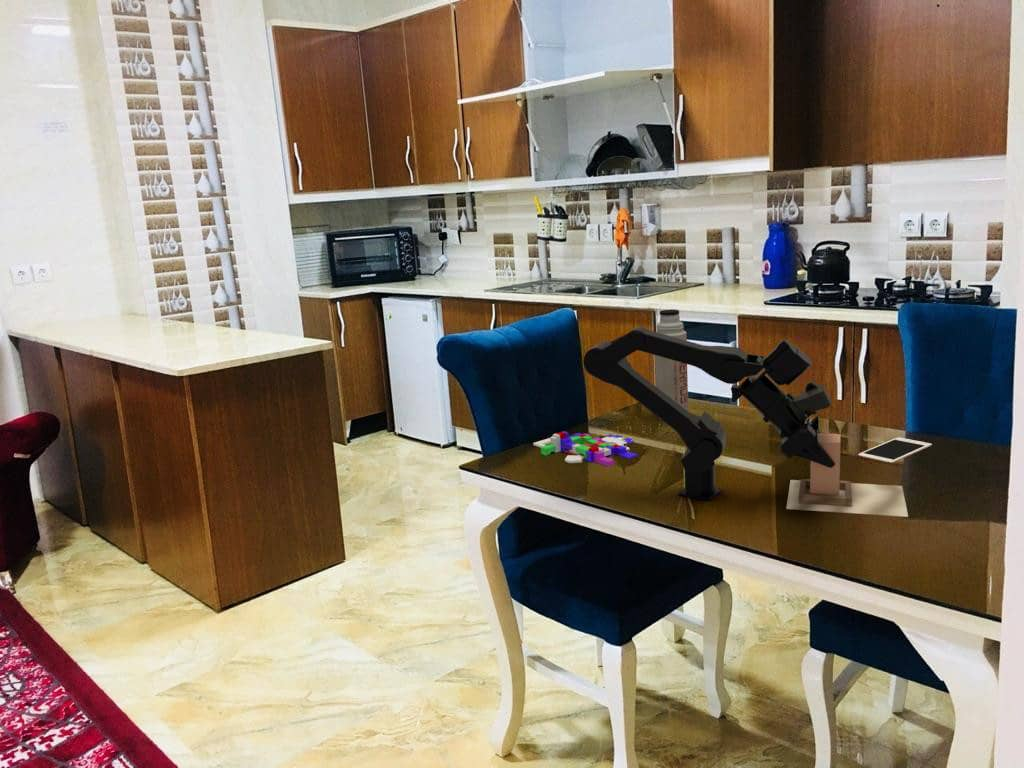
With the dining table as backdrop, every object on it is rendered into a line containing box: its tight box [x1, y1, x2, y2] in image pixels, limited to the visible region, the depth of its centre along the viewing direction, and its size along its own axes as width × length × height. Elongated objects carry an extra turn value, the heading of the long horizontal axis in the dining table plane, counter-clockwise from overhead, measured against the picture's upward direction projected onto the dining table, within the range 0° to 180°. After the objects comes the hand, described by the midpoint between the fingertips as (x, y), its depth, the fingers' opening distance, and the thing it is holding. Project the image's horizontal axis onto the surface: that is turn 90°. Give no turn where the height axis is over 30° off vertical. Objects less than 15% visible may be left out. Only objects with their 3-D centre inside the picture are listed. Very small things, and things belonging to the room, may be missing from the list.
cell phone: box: [857, 437, 933, 464], centre depth 180 cm, size 8×16×1 cm, turn 126°
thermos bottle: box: [654, 309, 689, 420], centre depth 213 cm, size 8×8×28 cm
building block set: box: [533, 430, 639, 467], centre depth 196 cm, size 25×20×4 cm
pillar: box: [809, 433, 841, 495], centre depth 154 cm, size 5×5×10 cm
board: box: [785, 478, 909, 518], centre depth 154 cm, size 20×15×2 cm
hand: (833, 461), depth 154 cm, fingers closed on pillar, 5 cm apart
